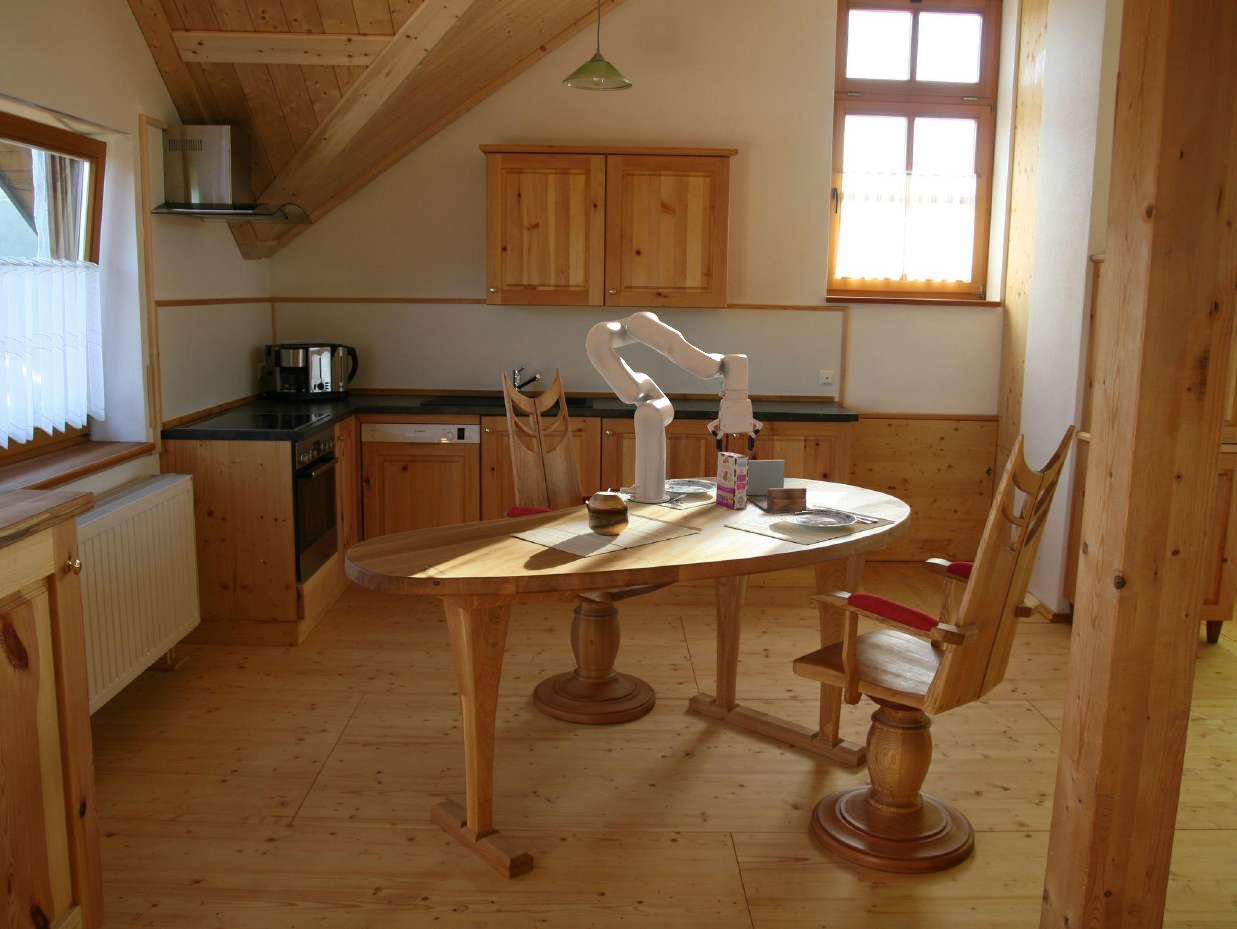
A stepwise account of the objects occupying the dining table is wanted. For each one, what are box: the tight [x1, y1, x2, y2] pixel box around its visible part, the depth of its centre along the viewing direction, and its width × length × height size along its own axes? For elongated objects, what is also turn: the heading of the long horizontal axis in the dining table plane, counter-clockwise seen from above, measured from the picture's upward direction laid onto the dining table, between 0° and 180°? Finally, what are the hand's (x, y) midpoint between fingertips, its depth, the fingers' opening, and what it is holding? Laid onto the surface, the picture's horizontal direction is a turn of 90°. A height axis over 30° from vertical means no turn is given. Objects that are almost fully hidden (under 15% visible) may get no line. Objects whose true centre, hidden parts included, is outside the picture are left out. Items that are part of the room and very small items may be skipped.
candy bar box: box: [715, 451, 750, 511], centre depth 330 cm, size 11×5×16 cm, turn 25°
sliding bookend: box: [747, 459, 786, 496], centre depth 349 cm, size 12×9×11 cm
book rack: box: [747, 487, 814, 515], centre depth 333 cm, size 14×22×7 cm, turn 11°
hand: (734, 450), depth 329 cm, fingers open, 9 cm apart
